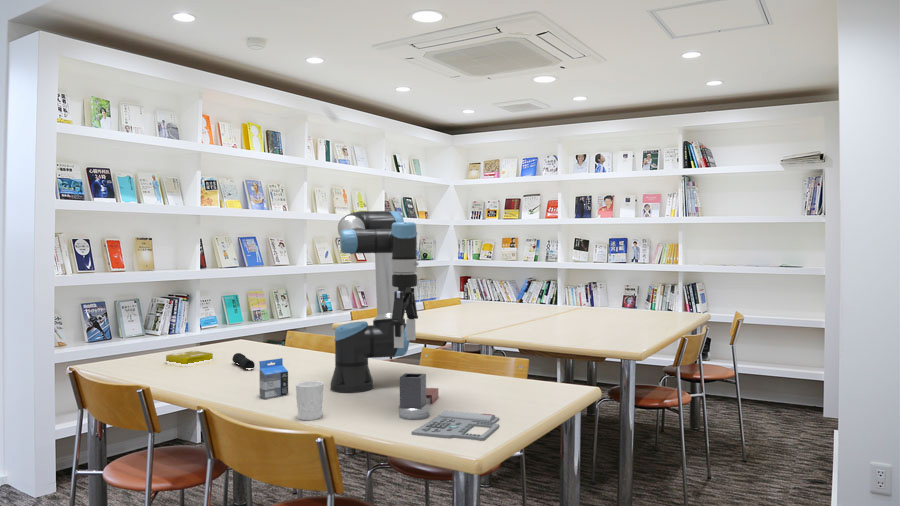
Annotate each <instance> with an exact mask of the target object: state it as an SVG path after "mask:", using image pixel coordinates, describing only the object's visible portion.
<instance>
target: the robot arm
mask: <svg viewBox="0 0 900 506" xmlns="http://www.w3.org/2000/svg"><path fill="white" fill-rule="evenodd" d="M337 233H338V235H339V245H340V246H339V248H340V252H341V253H343V254H350V255H354V254H355V255H356V254H374V259H375V260H374V264H375V288H376V290H375V291H376V316H375V318H374V319H373V320H372V322H373V323H372V325H371V324H370V325H369V323H368V321H365V320H364V321H354V322H348V323H344V324H340V325H338V326H337V327H336V328H335V330H334V345H335V346H334V349H335V351H334V356H335V357H334V370H333V373H332V376H331V381H330V390H331V391H332V392H337V393H360V392H366V391H369V390H372V389H374V379H373V376H372V373H371V371H370V368H369V359H374V358H375V359H376V358H380V359H381V358H396V357H403V356H405V355H406V354H407V353H408V351H409V350H408V349H409V345H410V341H416V320H418V319H419V315H418V311H417V304H416V303H417V302H416V297H415V287H417V286H418V275H417V272H418V270H417V269H418V266H419V262H417V260H418V259H417V256H418V255H417V253H418V251H417V250H418V249H417V247H418V246H417V245H418V244H417V240H418V238H417V237H418V232H417V224H416V223H415V222H411V221H409V222H407V221H405V220H404V217H403V215H402V214H401V212H399V211H395V210H393V211H392V210H369V211H368V210H359V211H354V212H351V213H349V214H346V215H345V216H343V217H342V218H341V219H340V220H339V222H338V225H337ZM405 314H406V318H407V319H406V318H405Z"/></svg>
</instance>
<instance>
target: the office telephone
mask: <svg viewBox="0 0 900 506" xmlns="http://www.w3.org/2000/svg"><path fill="white" fill-rule="evenodd" d="M499 420H500V416H499V417H498V416H496V415H495V414H490V413H479V412H478V413H477V412H465V411H454V410H443V411H441V413H440V414H439V415H437V416H436V417H434V418H432V419H430V420H429V421H427V422H426V423H423V424H422V425H420V426H419V427H417V428H415V429H414V430H412V431H411V432H410V433H411V435H412V436H419V437H431V438H439V439H460V440H461V439H463V440H472V441H473V440H474V441H479V442H484V441H485V440H486V439H487V438H489V437H490V436H491V435H492V434H493V433H494V432H495V431H497V430H498V429H499V427H500V424H499V423H498V422H499ZM474 427H478V428H485V429H486V428H489V429H487V430H486V431H485V432H484V433H482V434H480V433H478V434H475V433H474V434H473V433H468V432H469V431H470V430H471V429H472V428H474Z"/></svg>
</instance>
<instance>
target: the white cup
mask: <svg viewBox="0 0 900 506" xmlns="http://www.w3.org/2000/svg"><path fill="white" fill-rule="evenodd" d="M295 392H296V404H297V405H296V407H297V416H298V417H297V418H298V419H299V420H301V421H315V420H319V419H321V418H322V416H323V404H324V403H323V402H324V400H323V399H324V382H323V381H317V380H306V381H301V382H297V383H296V384H295Z"/></svg>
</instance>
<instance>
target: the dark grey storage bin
mask: <svg viewBox="0 0 900 506" xmlns="http://www.w3.org/2000/svg"><path fill="white" fill-rule="evenodd" d="M426 388H427V373H415V372H414V373H413V372H412V373H408V372H407V373H403V374H402V375H401V376H399V406H400V408H408V409H422V408H423V407H424V406H425V405H426Z"/></svg>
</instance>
